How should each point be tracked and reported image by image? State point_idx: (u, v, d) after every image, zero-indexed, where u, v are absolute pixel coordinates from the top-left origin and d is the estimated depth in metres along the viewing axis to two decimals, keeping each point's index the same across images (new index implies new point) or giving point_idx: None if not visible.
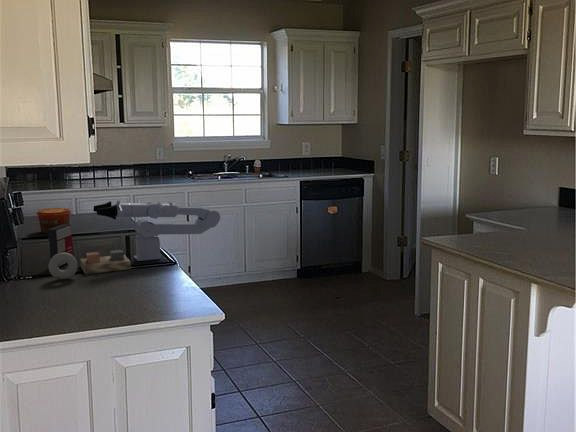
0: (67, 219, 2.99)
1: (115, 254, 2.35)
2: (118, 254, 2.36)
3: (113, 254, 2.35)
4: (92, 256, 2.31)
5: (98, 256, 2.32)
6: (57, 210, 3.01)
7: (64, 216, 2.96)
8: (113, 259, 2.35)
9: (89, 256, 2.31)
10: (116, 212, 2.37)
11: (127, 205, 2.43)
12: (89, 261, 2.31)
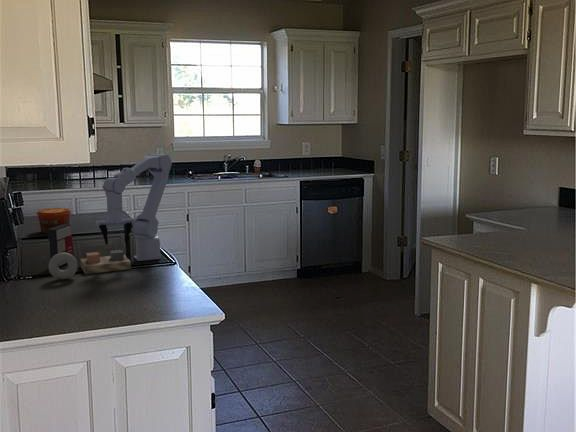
0: (67, 219, 2.99)
1: (115, 254, 2.35)
2: (118, 254, 2.36)
3: (113, 254, 2.35)
4: (92, 256, 2.31)
5: (98, 256, 2.32)
6: (57, 210, 3.01)
7: (64, 216, 2.96)
8: (113, 259, 2.35)
9: (89, 256, 2.31)
10: None
11: (120, 213, 2.33)
12: (89, 261, 2.31)
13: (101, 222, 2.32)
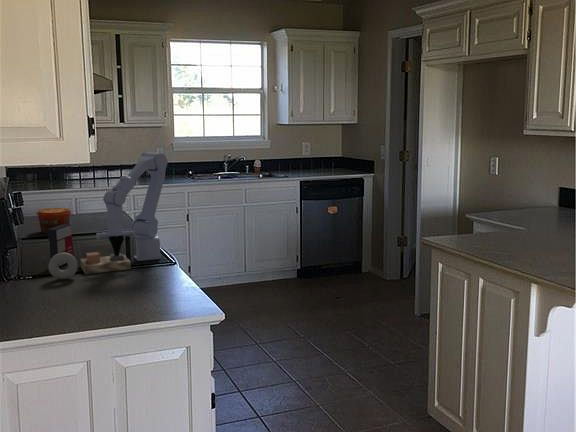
0: (67, 219, 2.99)
1: (115, 257, 2.36)
2: (118, 257, 2.36)
3: (113, 257, 2.35)
4: (92, 256, 2.31)
5: (98, 256, 2.32)
6: (57, 210, 3.01)
7: (64, 216, 2.96)
8: None
9: (89, 256, 2.31)
10: None
11: (121, 225, 2.34)
12: (89, 261, 2.31)
13: (102, 234, 2.33)
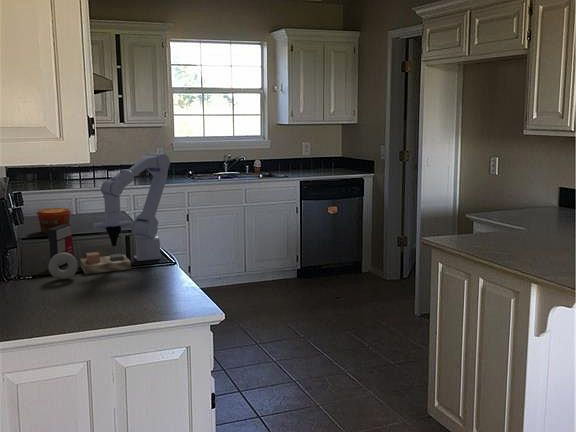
0: (67, 219, 2.99)
1: (115, 258, 2.36)
2: (118, 258, 2.36)
3: (113, 258, 2.35)
4: (92, 256, 2.31)
5: (98, 256, 2.32)
6: (57, 210, 3.01)
7: (64, 216, 2.96)
8: None
9: (89, 256, 2.31)
10: None
11: (118, 215, 2.33)
12: (89, 261, 2.31)
13: (99, 225, 2.32)
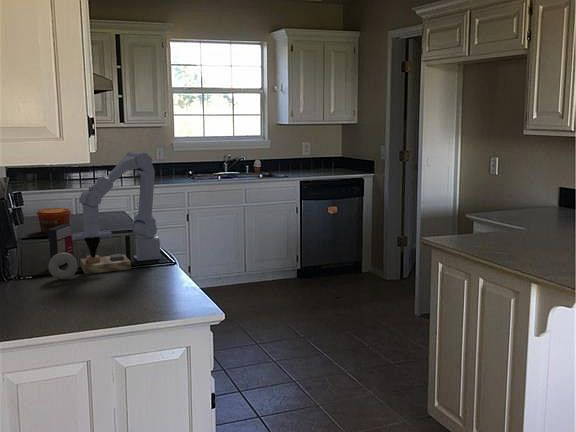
0: (67, 219, 2.99)
1: (115, 258, 2.36)
2: (118, 258, 2.36)
3: (113, 258, 2.35)
4: (92, 259, 2.32)
5: (98, 259, 2.33)
6: (57, 210, 3.01)
7: (64, 216, 2.96)
8: None
9: (89, 259, 2.31)
10: None
11: (97, 226, 2.30)
12: None
13: (77, 236, 2.29)
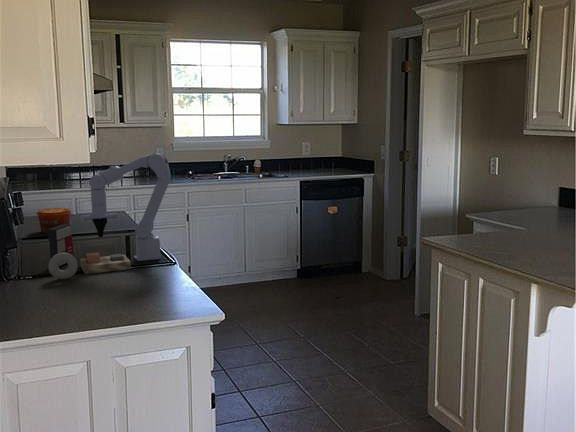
0: (67, 219, 2.99)
1: (115, 258, 2.36)
2: (118, 258, 2.36)
3: (113, 258, 2.35)
4: (92, 256, 2.31)
5: (98, 256, 2.33)
6: (57, 210, 3.01)
7: (64, 216, 2.96)
8: None
9: (89, 256, 2.31)
10: None
11: (104, 208, 2.45)
12: (89, 261, 2.31)
13: (86, 217, 2.43)
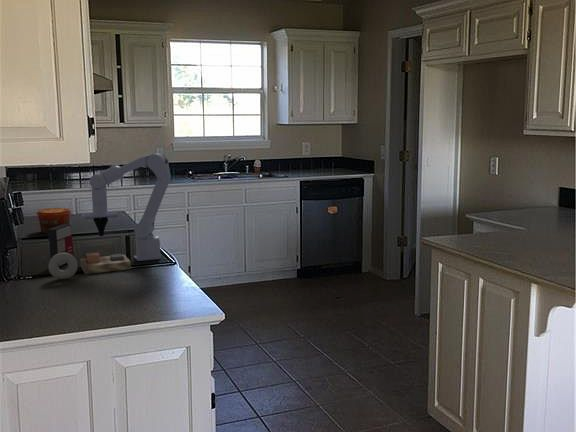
0: (67, 219, 2.99)
1: (115, 258, 2.36)
2: (118, 258, 2.36)
3: (113, 258, 2.35)
4: (92, 256, 2.31)
5: (98, 256, 2.33)
6: (57, 210, 3.01)
7: (64, 216, 2.96)
8: None
9: (89, 256, 2.31)
10: None
11: (105, 207, 2.46)
12: (89, 261, 2.31)
13: (86, 216, 2.45)
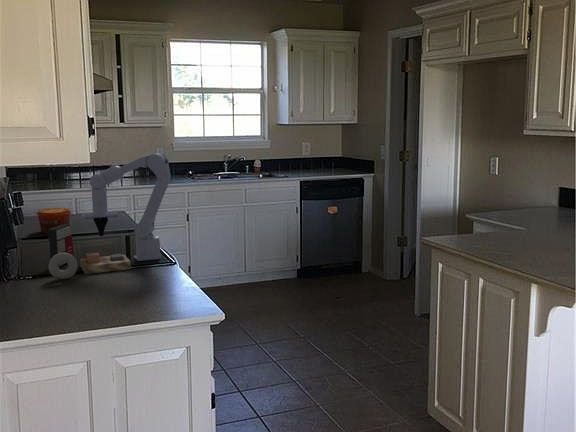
0: (67, 219, 2.99)
1: (115, 258, 2.36)
2: (118, 258, 2.36)
3: (113, 258, 2.35)
4: (92, 256, 2.31)
5: (98, 256, 2.33)
6: (57, 210, 3.01)
7: (64, 216, 2.96)
8: None
9: (89, 256, 2.31)
10: None
11: (105, 207, 2.46)
12: (89, 261, 2.31)
13: (86, 216, 2.45)
